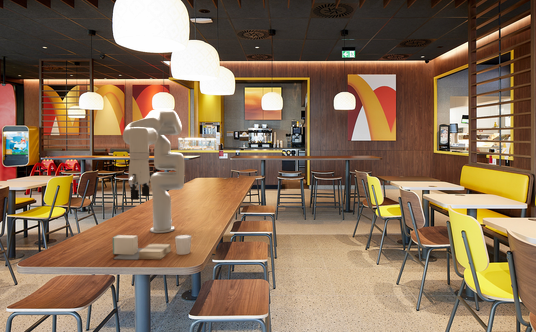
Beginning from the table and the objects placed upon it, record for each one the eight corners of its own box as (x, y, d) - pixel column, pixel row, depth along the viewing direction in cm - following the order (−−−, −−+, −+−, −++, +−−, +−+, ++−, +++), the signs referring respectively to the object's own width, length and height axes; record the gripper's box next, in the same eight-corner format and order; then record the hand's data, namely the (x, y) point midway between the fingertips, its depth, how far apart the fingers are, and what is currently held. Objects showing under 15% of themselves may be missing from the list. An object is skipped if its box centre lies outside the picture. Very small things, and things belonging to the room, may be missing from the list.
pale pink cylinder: (172, 252, 145) (171, 236, 144) (186, 249, 150) (186, 233, 149) (180, 256, 140) (180, 239, 140) (194, 252, 145) (194, 236, 144)
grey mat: (130, 248, 150) (130, 247, 150) (152, 249, 149) (152, 248, 149) (113, 259, 136) (113, 258, 136) (137, 259, 135) (137, 259, 135)
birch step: (150, 250, 148) (150, 243, 148) (170, 250, 147) (170, 244, 147) (139, 258, 137) (138, 251, 137) (160, 259, 136) (160, 252, 136)
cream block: (138, 251, 145) (118, 251, 146) (137, 235, 144) (117, 235, 145) (133, 254, 141) (112, 253, 142) (133, 238, 140) (112, 237, 141)
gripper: (140, 156, 149) (141, 194, 150) (119, 157, 132) (121, 201, 133) (156, 156, 148) (157, 194, 149) (138, 157, 131) (139, 201, 132)
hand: (140, 197), depth 141 cm, fingers open, 9 cm apart
